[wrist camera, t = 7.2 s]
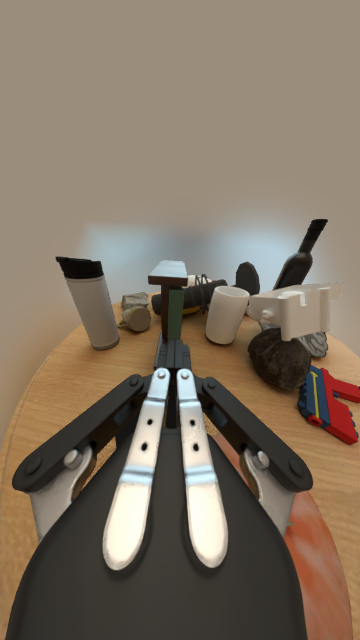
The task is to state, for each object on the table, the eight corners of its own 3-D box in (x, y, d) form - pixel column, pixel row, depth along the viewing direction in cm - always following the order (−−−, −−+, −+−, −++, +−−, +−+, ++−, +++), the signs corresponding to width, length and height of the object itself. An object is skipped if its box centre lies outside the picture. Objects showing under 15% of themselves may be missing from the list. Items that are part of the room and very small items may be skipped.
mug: (134, 315, 46) (144, 295, 40) (145, 337, 42) (158, 319, 36) (112, 317, 40) (120, 293, 34) (122, 343, 37) (133, 322, 31)
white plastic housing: (282, 285, 32) (284, 314, 33) (235, 297, 32) (239, 325, 34) (354, 281, 19) (351, 328, 21) (275, 301, 19) (278, 345, 21)
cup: (223, 328, 41) (236, 285, 34) (239, 346, 35) (260, 297, 27) (199, 331, 39) (207, 285, 32) (211, 350, 32) (225, 298, 25)
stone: (144, 299, 57) (143, 289, 54) (155, 310, 49) (155, 299, 47) (117, 304, 51) (114, 293, 48) (124, 317, 43) (122, 305, 41)
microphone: (249, 315, 42) (162, 333, 44) (234, 287, 49) (160, 304, 51) (267, 282, 30) (146, 310, 32) (244, 251, 37) (146, 275, 39)
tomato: (261, 444, 18) (291, 419, 14) (347, 663, 8) (525, 795, 4) (184, 440, 17) (191, 414, 13) (187, 661, 8) (210, 801, 4)
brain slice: (270, 365, 32) (279, 362, 29) (245, 310, 40) (250, 304, 38) (334, 358, 35) (347, 355, 32) (297, 308, 43) (306, 302, 41)
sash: (177, 365, 21) (184, 291, 15) (167, 365, 21) (168, 290, 15) (178, 341, 27) (182, 278, 20) (169, 341, 26) (171, 277, 20)
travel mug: (84, 347, 31) (43, 255, 20) (105, 332, 36) (82, 253, 26) (106, 354, 29) (73, 259, 19) (124, 337, 35) (107, 256, 24)
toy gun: (404, 474, 15) (300, 409, 20) (391, 476, 16) (295, 413, 21) (365, 387, 25) (301, 357, 30) (358, 391, 26) (297, 362, 31)
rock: (276, 400, 22) (305, 352, 18) (234, 357, 32) (247, 320, 28) (313, 390, 25) (344, 348, 21) (264, 354, 35) (279, 321, 31)
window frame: (177, 384, 24) (188, 277, 14) (154, 383, 24) (147, 275, 14) (178, 338, 36) (183, 261, 25) (162, 338, 36) (161, 260, 25)
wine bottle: (276, 320, 48) (331, 221, 32) (277, 327, 44) (340, 217, 28) (260, 316, 50) (303, 221, 35) (259, 322, 46) (308, 217, 30)
